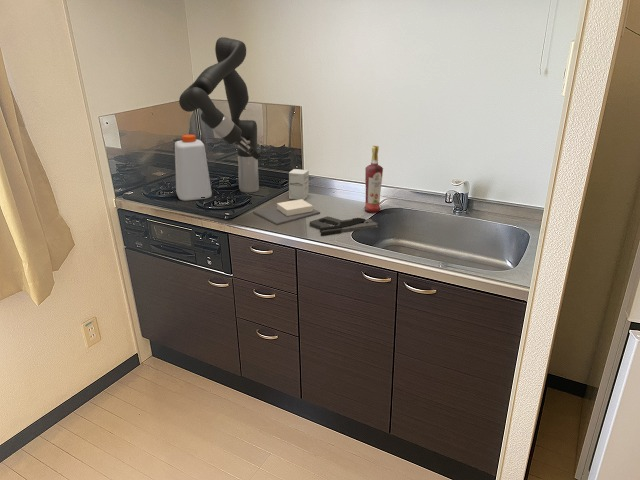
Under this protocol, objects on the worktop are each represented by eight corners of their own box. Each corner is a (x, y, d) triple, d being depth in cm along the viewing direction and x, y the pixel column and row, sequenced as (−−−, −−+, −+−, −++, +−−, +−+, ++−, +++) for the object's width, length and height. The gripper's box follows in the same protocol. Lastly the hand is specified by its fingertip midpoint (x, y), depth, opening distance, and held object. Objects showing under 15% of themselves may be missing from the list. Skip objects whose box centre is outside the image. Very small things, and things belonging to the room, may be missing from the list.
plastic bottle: (213, 198, 231) (208, 137, 220) (179, 202, 226) (173, 140, 215) (207, 189, 244) (202, 131, 233) (175, 192, 239) (169, 133, 228)
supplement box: (288, 199, 232) (288, 172, 227) (294, 194, 238) (293, 168, 233) (303, 200, 230) (303, 173, 225) (309, 196, 236) (309, 169, 231)
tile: (276, 203, 215) (301, 199, 220) (277, 209, 216) (302, 205, 221) (286, 210, 207) (312, 205, 212) (287, 216, 208) (312, 212, 213)
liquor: (368, 214, 213) (371, 148, 202) (360, 209, 220) (363, 145, 209) (383, 212, 216) (387, 147, 205) (375, 207, 222) (379, 144, 211)
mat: (253, 213, 214) (252, 211, 214) (294, 202, 227) (294, 201, 226) (277, 225, 201) (277, 223, 201) (320, 213, 214) (320, 211, 214)
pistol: (306, 218, 203) (319, 232, 190) (364, 211, 211) (380, 223, 198) (306, 224, 204) (319, 237, 191) (364, 216, 212) (380, 229, 199)
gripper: (238, 124, 185) (270, 153, 195) (226, 118, 196) (257, 146, 206) (225, 140, 185) (258, 168, 195) (214, 133, 195) (245, 161, 206)
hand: (257, 157), depth 200 cm, fingers closed
